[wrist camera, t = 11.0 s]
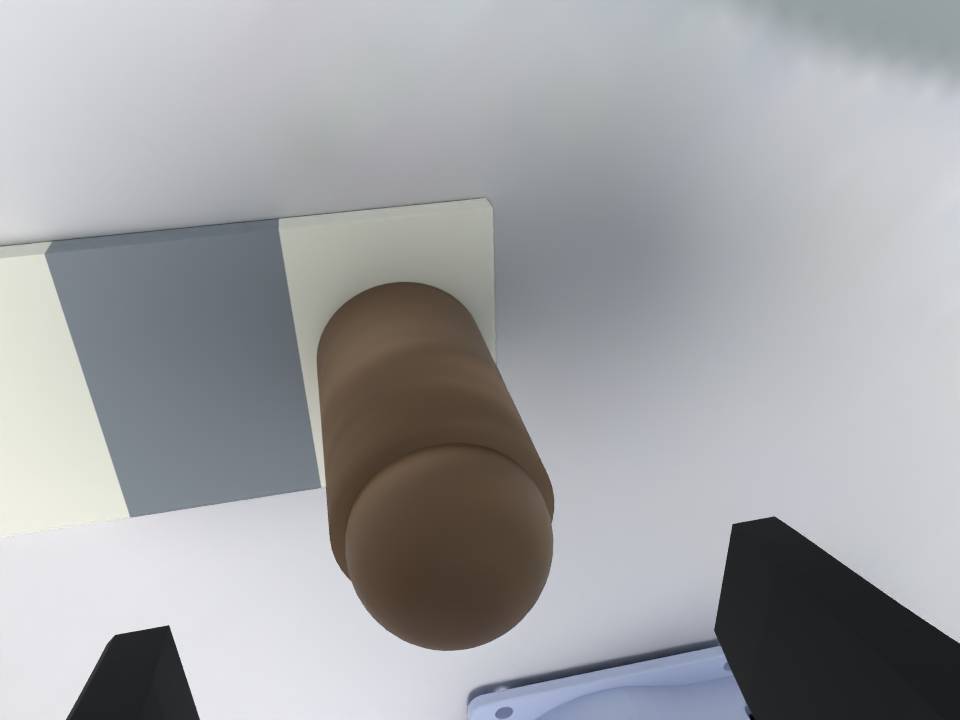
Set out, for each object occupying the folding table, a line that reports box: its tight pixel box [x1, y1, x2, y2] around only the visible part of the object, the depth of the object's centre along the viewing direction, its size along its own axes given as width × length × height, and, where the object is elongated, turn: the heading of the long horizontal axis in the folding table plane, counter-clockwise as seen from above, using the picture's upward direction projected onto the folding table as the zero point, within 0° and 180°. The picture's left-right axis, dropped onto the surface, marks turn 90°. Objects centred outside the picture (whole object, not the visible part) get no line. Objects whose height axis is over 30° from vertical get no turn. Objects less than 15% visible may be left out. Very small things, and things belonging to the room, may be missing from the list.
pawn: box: [317, 282, 554, 651], centre depth 13 cm, size 3×3×7 cm
